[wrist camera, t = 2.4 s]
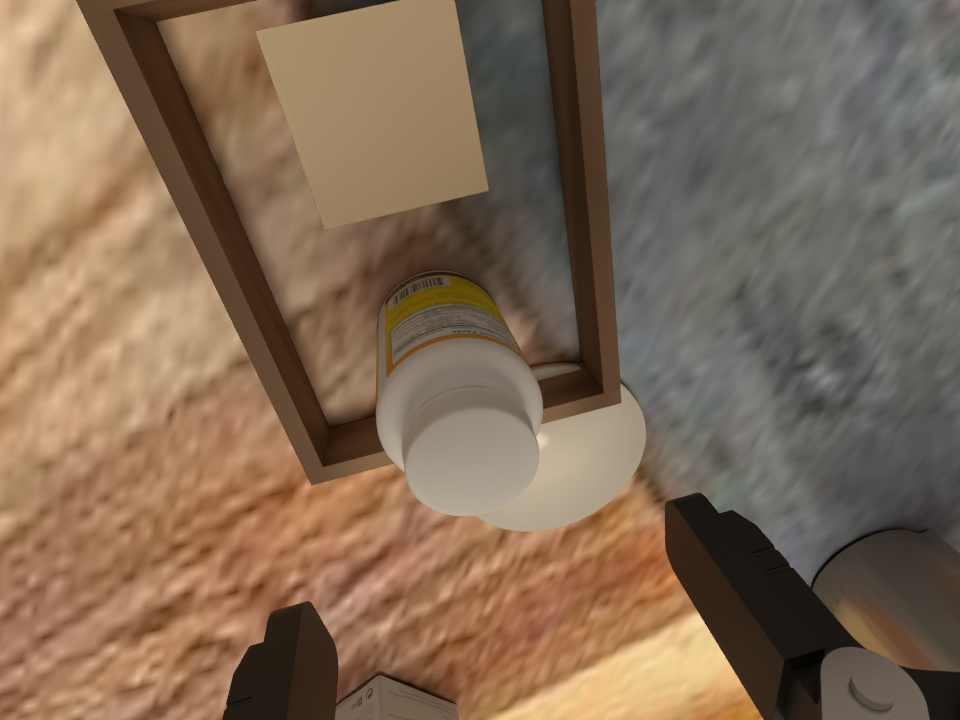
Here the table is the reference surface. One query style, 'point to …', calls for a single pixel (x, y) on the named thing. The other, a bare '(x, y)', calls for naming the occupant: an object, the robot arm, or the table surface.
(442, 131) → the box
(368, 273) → the table surface
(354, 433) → the wooden frame
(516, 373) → the supplement bottle
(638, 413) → the coaster
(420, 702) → the skincare box
